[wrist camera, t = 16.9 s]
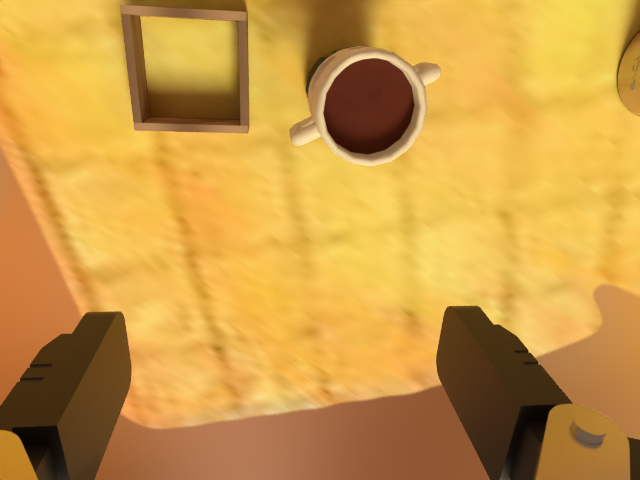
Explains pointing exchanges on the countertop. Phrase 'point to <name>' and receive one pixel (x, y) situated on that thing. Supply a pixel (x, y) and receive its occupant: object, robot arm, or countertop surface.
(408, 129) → the character mug
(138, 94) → the walnut corral
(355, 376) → the countertop surface
